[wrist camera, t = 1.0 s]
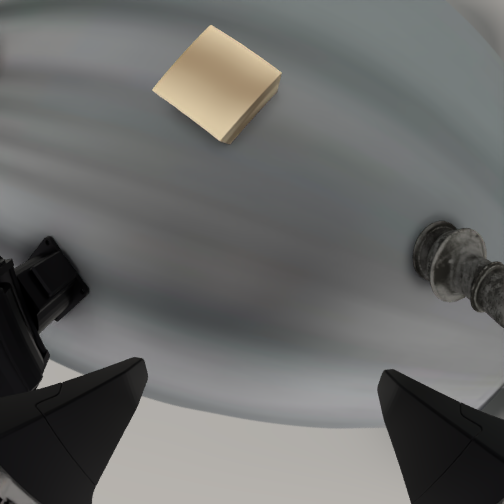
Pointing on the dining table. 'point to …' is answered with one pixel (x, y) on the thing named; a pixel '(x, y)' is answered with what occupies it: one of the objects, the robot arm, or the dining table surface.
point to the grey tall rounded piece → (460, 268)
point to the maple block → (219, 84)
